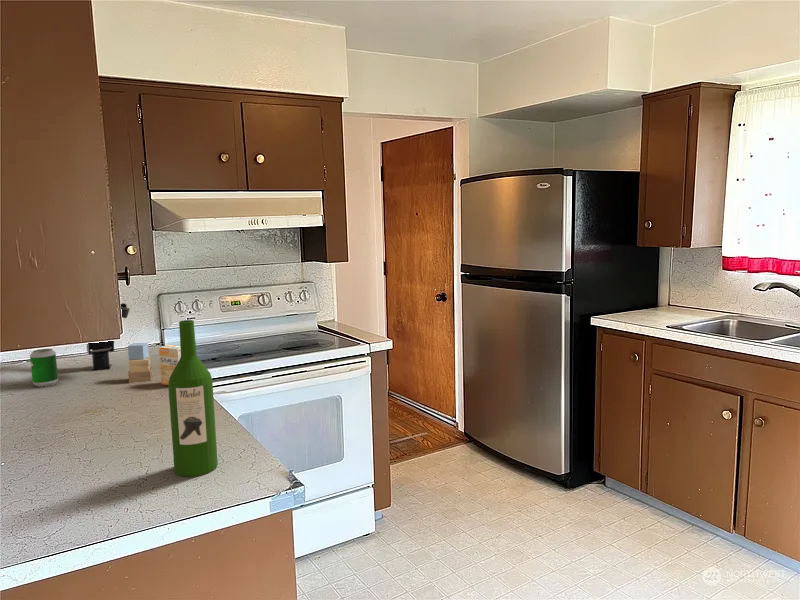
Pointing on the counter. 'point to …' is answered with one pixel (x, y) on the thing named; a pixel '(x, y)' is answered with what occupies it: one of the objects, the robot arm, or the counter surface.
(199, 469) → the wine bottle
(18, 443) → the counter surface
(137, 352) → the blue cube
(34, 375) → the soda can
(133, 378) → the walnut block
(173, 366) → the supplement box
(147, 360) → the oak block
